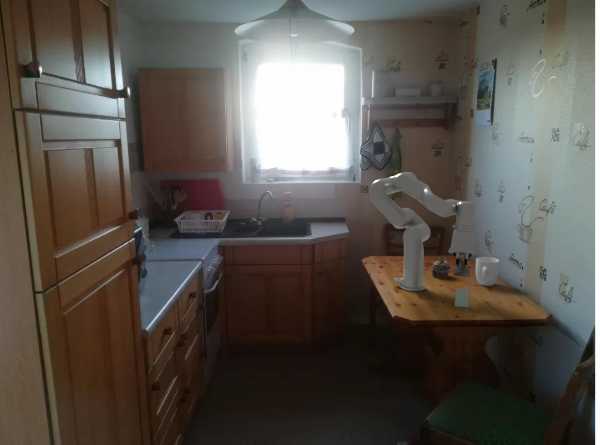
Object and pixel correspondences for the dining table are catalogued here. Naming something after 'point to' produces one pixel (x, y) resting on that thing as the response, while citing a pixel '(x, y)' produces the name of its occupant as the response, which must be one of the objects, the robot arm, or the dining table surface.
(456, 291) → the tile
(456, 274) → the scraper
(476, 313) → the dining table surface
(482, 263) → the mug
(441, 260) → the cupcake
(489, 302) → the dining table surface
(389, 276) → the dining table surface
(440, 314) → the dining table surface
